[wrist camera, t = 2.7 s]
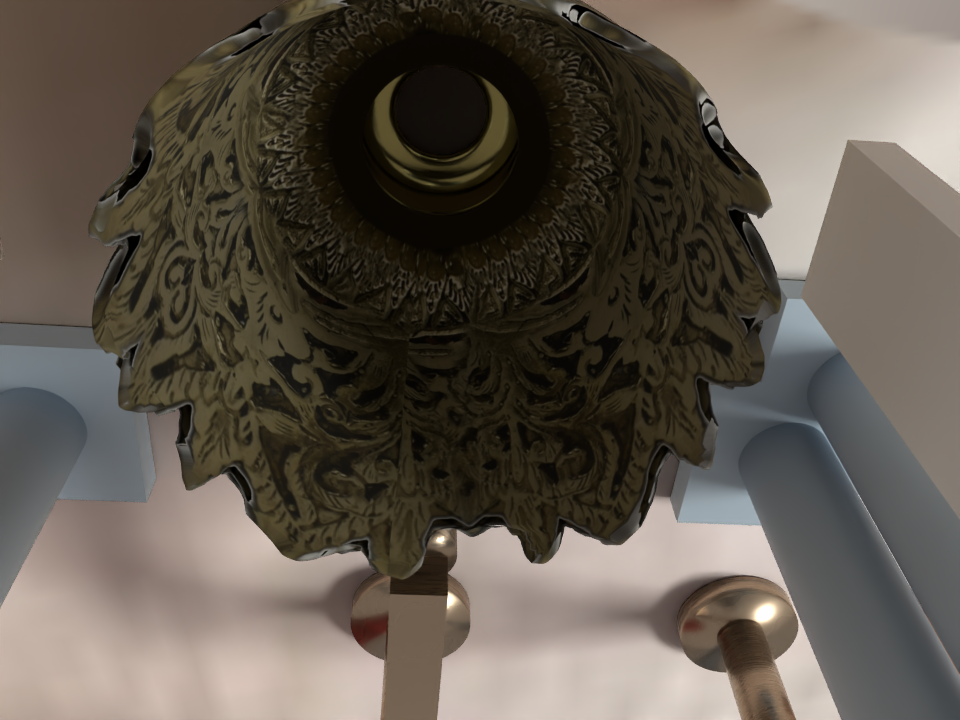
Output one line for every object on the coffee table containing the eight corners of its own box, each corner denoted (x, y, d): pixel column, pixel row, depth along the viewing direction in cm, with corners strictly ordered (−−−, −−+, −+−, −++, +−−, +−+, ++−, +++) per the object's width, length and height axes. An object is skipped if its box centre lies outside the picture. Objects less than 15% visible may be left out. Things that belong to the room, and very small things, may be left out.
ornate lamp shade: (263, 296, 19) (162, 598, 12) (193, -112, 15) (-19, 1, 8) (631, 283, 19) (736, 577, 12) (664, -125, 15) (849, -25, 8)
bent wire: (355, 299, 19) (320, 519, 13) (901, 328, 20) (1075, 547, 14) (352, 643, 24) (326, 895, 19) (774, 655, 25) (864, 899, 20)
